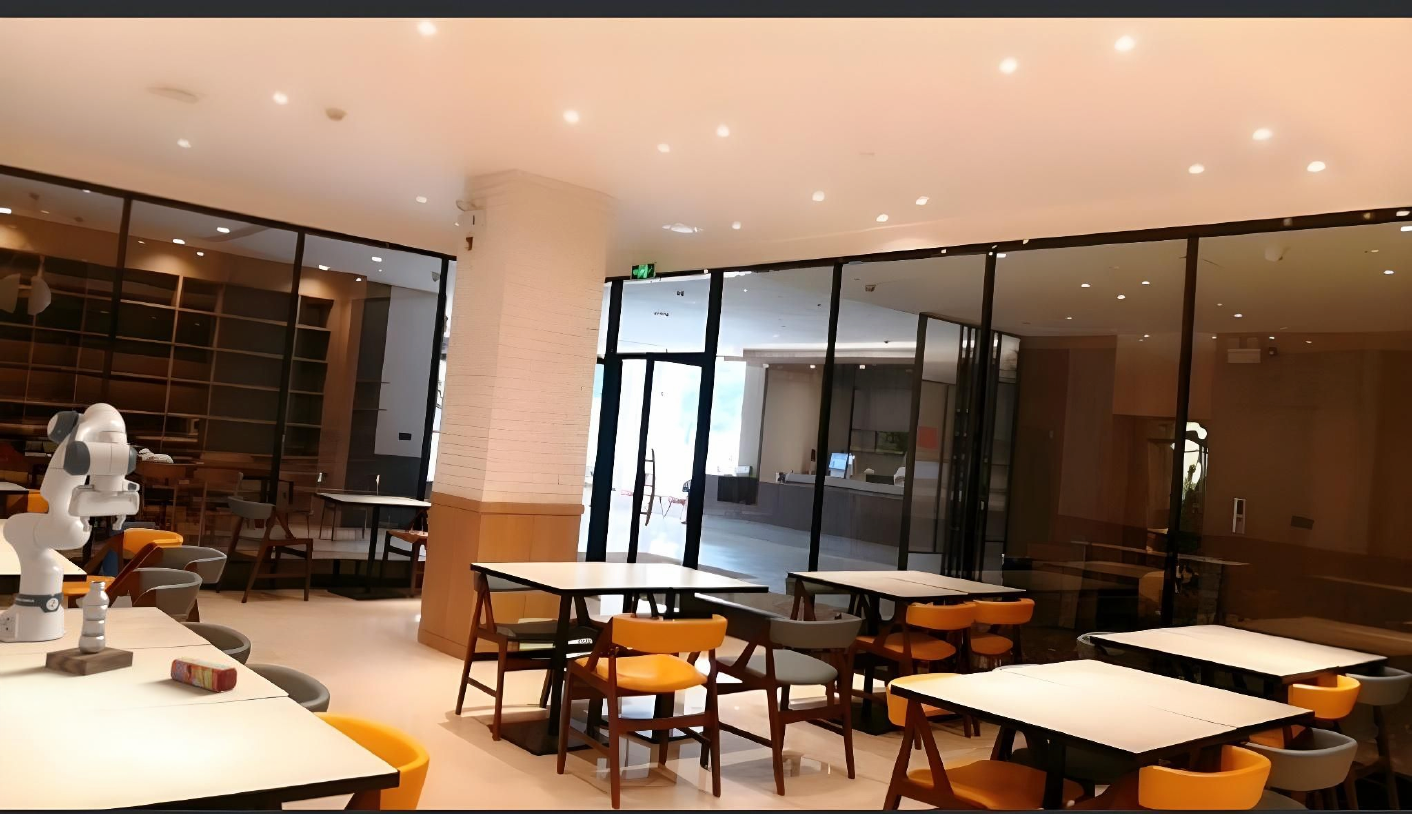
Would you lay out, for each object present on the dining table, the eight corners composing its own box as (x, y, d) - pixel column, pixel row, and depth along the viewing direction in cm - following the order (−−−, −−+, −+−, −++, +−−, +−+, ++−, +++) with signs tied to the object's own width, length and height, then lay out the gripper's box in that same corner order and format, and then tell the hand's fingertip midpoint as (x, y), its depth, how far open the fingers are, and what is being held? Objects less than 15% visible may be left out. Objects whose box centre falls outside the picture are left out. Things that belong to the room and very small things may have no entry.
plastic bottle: (92, 655, 264) (100, 584, 265) (71, 653, 265) (78, 582, 266) (110, 651, 270) (117, 581, 271) (89, 648, 271) (96, 579, 272)
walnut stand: (45, 667, 264) (46, 652, 264) (92, 658, 277) (94, 644, 277) (85, 675, 258) (86, 660, 258) (132, 665, 271) (133, 651, 271)
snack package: (167, 680, 259) (169, 656, 260) (189, 676, 265) (192, 652, 266) (215, 695, 249) (217, 669, 250) (238, 690, 255) (240, 665, 255)
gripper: (80, 485, 272) (75, 533, 271) (144, 485, 291) (140, 529, 290) (65, 484, 274) (60, 531, 273) (129, 483, 293) (125, 527, 292)
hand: (102, 530), depth 282 cm, fingers open, 8 cm apart
